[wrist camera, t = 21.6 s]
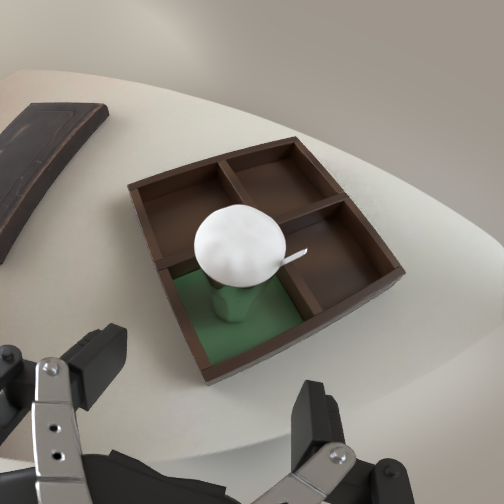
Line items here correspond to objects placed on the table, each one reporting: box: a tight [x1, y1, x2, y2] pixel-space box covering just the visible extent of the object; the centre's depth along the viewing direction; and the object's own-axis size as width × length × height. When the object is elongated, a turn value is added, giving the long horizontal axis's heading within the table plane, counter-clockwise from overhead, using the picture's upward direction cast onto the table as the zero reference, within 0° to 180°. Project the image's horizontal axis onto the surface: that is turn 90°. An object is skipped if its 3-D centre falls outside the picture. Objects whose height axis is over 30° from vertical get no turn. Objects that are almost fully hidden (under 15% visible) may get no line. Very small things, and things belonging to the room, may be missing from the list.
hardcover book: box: [0, 103, 109, 264], centre depth 27 cm, size 16×23×2 cm
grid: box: [127, 136, 406, 386], centre depth 24 cm, size 17×17×3 cm
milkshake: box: [194, 205, 308, 323], centre depth 18 cm, size 5×5×10 cm
